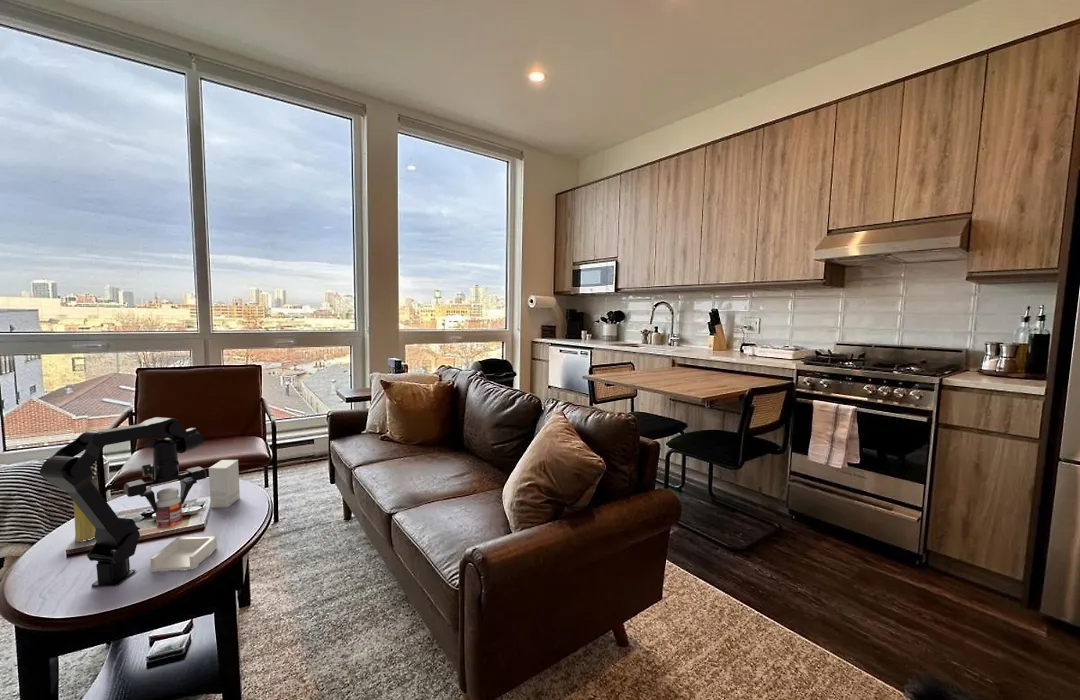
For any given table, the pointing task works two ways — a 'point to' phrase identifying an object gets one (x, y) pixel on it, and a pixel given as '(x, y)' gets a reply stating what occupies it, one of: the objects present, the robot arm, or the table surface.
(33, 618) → the table surface
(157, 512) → the pill bottle
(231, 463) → the skincare box
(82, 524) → the vase
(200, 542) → the end holder
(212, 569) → the table surface
